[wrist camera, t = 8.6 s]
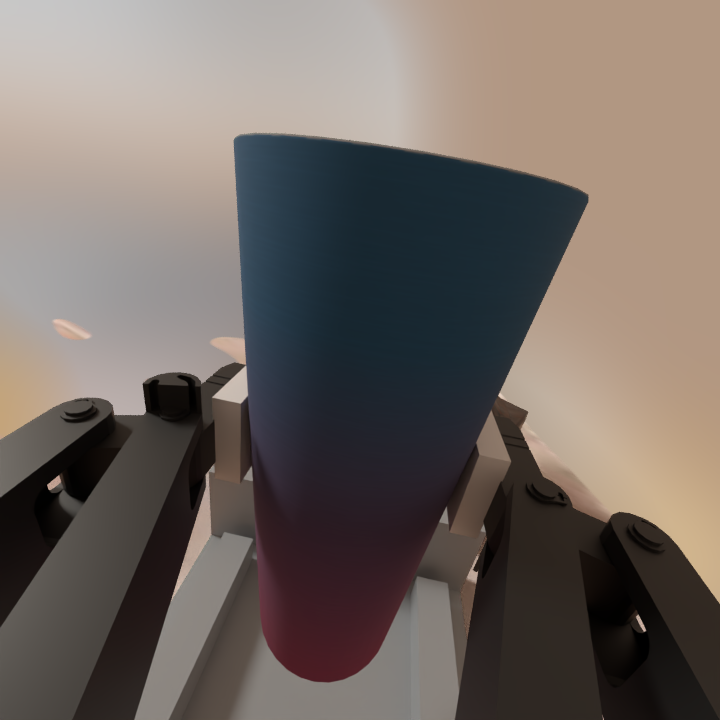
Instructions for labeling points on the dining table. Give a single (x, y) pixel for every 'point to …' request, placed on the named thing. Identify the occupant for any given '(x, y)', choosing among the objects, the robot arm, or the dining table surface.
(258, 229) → the cup
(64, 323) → the dining table surface
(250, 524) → the dock
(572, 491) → the dining table surface
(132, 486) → the robot arm
